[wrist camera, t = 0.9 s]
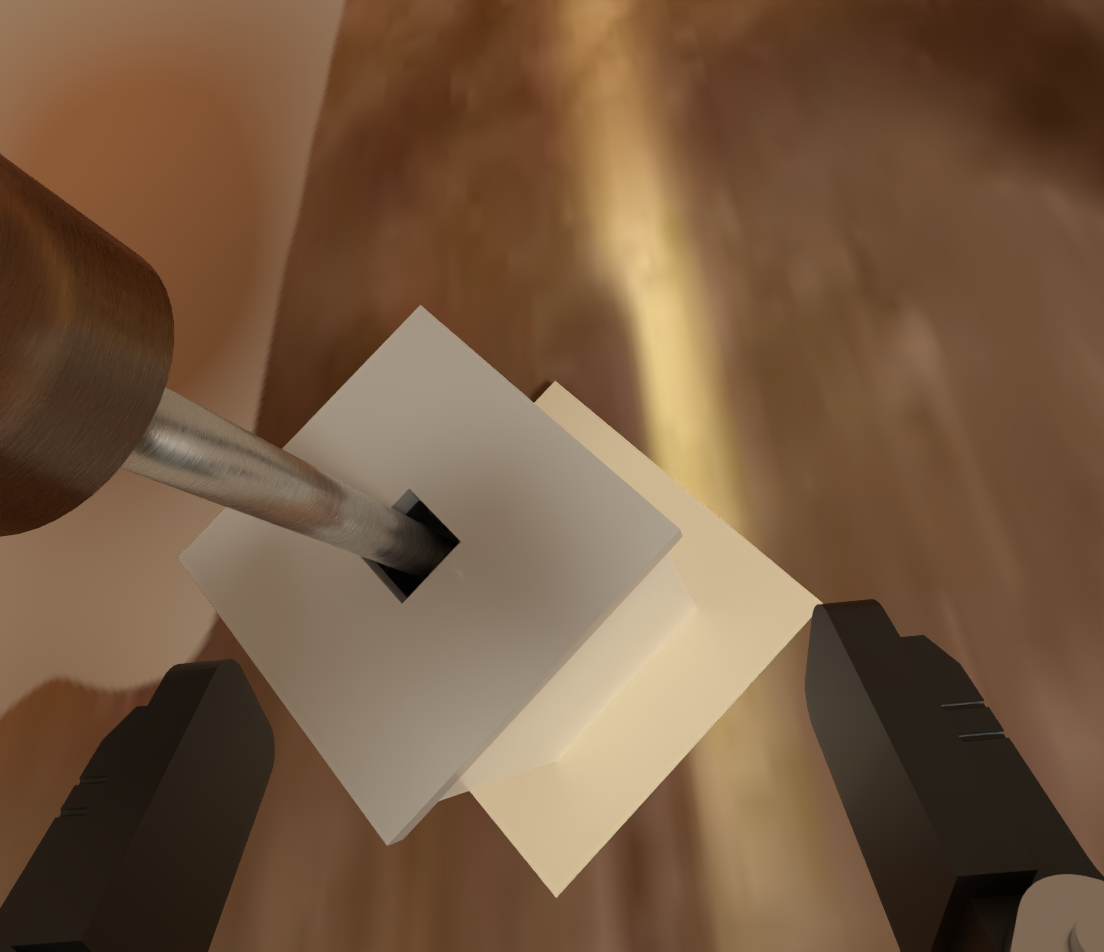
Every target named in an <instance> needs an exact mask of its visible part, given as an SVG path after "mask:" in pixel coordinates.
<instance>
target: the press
mask: <svg viewBox="0 0 1104 952" xmlns="http://www.w3.org/2000/svg"><path fill="white" fill-rule="evenodd" d="M282 450H284V451H286V452H288V453H290V454H292V455H294V456H295V457H297V458H299V459H301V460H303V461H305V462H307V463H309V464H310V465H312V466H314V467H316V468H318V469H320V470H322V471H323V472H325V473H327V474H329V475H331V476H333V477H335V478H337V479H338V480H340V481H342V482H344V483H346V484H348V485H350V486H352V487H353V488H355V489H357V490H359V491H361V492H363V493H365V494H367V495H368V496H370V497H372V498H374V499H376V500H378V501H380V502H381V503H383V504H385V505H387V506H389V507H391V508H393V509H395V510H396V511H398V512H400V513H402V514H404V515H405V514H406V513H407V512H408V511H409V510H410V509H411V508H412V507H413V506H414V505H415V504H416V503H417V501H418V500H419V499H420V500H421V501H422V502H423V503H424V504H425V505H426V506H427V507H428V508H429V509H430V510H431V511H432V512H433V513H434V514H435V516H436V517H437V518H438V519H439V520H440V521H441V522H442V523H443V524H444V525H445V526H446V527H447V528H448V529H449V530H450V531H451V532H452V533H453V534H454V535H455V536H456V537H457V538H458V539H459V540H460V541H461V542H460V543H459V544H458V545H457V546H456V547H455V548H454V549H453V550H452V551H451V553H450V554H449V555H448V556H447V557H446V558H445V559H444V560H443V561H442V562H441V563H440V564H439V565H438V566H437V567H436V568H435V570H434V571H433V572H432V573H431V574H430V575H429V576H428V577H427V578H426V579H425V580H424V581H423V582H422V583H421V584H420V585H419V587H418V588H417V589H416V590H415V591H414V592H413V593H412V594H411V595H410V596H409V597H408V598H407V597H406V596H405V595H404V594H403V592H402V591H401V590H400V589H399V588H398V587H397V586H396V585H395V583H394V582H393V581H392V580H391V579H390V578H389V577H388V576H387V574H386V573H385V572H384V571H383V570H382V569H381V568H380V566H379V565H378V564H377V563H376V562H375V561H373V560H370V559H367V558H365V557H362V556H359V555H357V554H354V553H351V552H348V551H346V550H343V549H340V548H337V547H335V546H332V545H329V544H327V543H324V542H321V541H318V540H316V539H313V538H310V537H307V536H305V535H302V534H299V533H297V532H294V531H291V530H288V529H286V528H283V527H280V526H277V525H275V524H272V523H269V522H267V521H264V520H261V519H258V518H256V517H253V516H250V515H247V514H245V513H242V512H239V511H236V510H234V509H231V508H228V507H226V508H225V509H224V510H223V511H222V512H221V513H220V514H219V515H218V516H217V517H216V518H215V519H214V520H213V521H212V522H211V523H210V524H209V525H208V526H207V528H206V529H204V531H203V532H202V533H201V534H200V535H199V536H198V537H197V538H196V539H195V540H194V541H193V542H192V543H191V544H190V545H189V546H188V547H187V548H186V549H185V550H184V551H183V552H182V554H181V555H179V557H178V559H179V561H180V562H181V563H182V565H183V566H184V568H185V569H186V570H187V572H188V573H189V574H190V576H191V577H192V578H193V580H194V581H195V582H196V584H197V585H198V587H199V588H200V590H201V591H202V592H203V593H204V595H205V596H206V598H207V599H208V601H209V602H210V603H211V604H212V606H213V607H214V609H215V610H216V612H217V613H218V614H219V616H220V617H221V618H222V620H223V621H224V623H225V624H226V625H227V627H228V628H229V629H230V631H231V632H232V633H233V635H234V636H235V638H236V639H237V640H238V642H239V643H240V644H241V646H242V647H243V649H244V650H245V651H246V653H247V654H248V655H249V657H250V658H251V660H252V661H253V662H254V664H255V665H256V666H257V668H258V669H259V671H260V672H261V673H262V675H263V676H264V677H265V679H266V680H267V682H268V683H269V684H270V686H271V687H272V688H273V690H274V691H275V693H276V694H277V695H278V697H279V698H280V699H281V701H282V702H283V704H284V705H285V706H286V708H287V709H288V710H289V712H290V713H291V715H292V716H293V717H294V719H295V720H296V721H297V723H298V724H299V725H300V727H301V728H302V730H303V731H304V732H305V734H306V735H307V736H308V738H309V739H310V741H311V742H312V743H313V745H314V746H315V747H316V749H317V750H318V752H319V753H320V754H321V756H322V757H323V758H324V760H325V761H326V763H327V764H328V765H329V767H330V768H331V769H332V771H333V772H334V774H335V775H336V776H337V778H338V779H339V780H340V782H341V783H342V785H343V786H344V787H345V789H346V790H347V791H348V793H349V794H350V796H351V797H352V798H353V800H354V801H355V802H356V804H357V805H358V807H359V808H360V809H361V811H362V812H363V813H364V815H365V816H366V818H367V819H368V820H369V822H370V823H371V824H372V826H373V827H374V828H375V830H376V831H377V833H378V834H379V835H380V837H381V838H382V839H383V841H384V842H385V844H386V845H387V846H388V845H390V844H393V843H395V842H398V841H400V840H403V839H404V838H405V837H406V836H407V835H408V834H409V832H410V831H411V830H412V829H413V828H414V827H415V826H416V825H417V824H418V823H419V822H420V821H421V819H422V818H423V817H424V816H425V815H426V814H427V813H428V812H429V811H430V810H431V809H432V808H433V806H434V805H435V804H436V803H437V802H438V801H440V800H443V799H446V798H449V797H452V796H455V795H458V794H461V793H464V792H467V791H470V792H471V793H472V794H473V796H474V797H475V798H476V799H477V801H478V802H479V803H480V804H481V806H482V807H483V808H484V809H485V810H486V812H487V813H488V814H489V815H490V817H491V818H492V819H493V820H494V822H495V823H496V824H497V825H498V827H499V828H500V829H501V830H502V831H503V833H504V834H505V835H506V836H507V838H508V839H509V840H510V841H511V843H512V844H513V845H514V846H515V847H516V849H517V850H518V851H519V852H520V854H521V855H522V856H523V857H524V859H525V860H526V861H527V862H528V864H529V865H530V866H531V867H532V868H533V870H534V871H535V872H536V873H537V875H538V876H539V877H540V878H541V880H542V881H543V882H544V883H545V884H546V886H547V887H548V888H549V889H550V891H551V892H552V893H553V894H554V896H555V897H556V898H557V897H558V896H559V894H560V893H561V892H562V891H563V890H564V889H565V888H566V887H567V886H568V885H569V884H570V882H571V881H572V880H573V879H574V878H575V877H576V876H577V875H578V874H579V873H580V871H581V870H582V869H583V868H584V867H585V866H586V865H587V864H588V863H589V862H590V860H591V859H592V858H593V857H594V856H595V855H596V854H597V853H598V852H599V851H600V849H601V848H602V847H603V846H604V845H605V844H606V843H607V842H608V841H609V840H610V838H611V837H612V836H613V835H614V834H615V833H616V832H617V831H618V830H619V829H620V827H621V826H622V825H623V824H624V823H625V822H626V821H627V820H628V819H629V818H630V816H631V815H632V814H633V813H634V812H635V811H636V810H637V809H638V808H639V807H640V805H641V804H642V803H643V802H644V801H645V800H646V799H647V798H648V797H649V796H650V794H651V793H652V792H653V791H654V790H655V789H656V788H657V787H658V786H659V784H660V783H661V782H662V781H663V780H664V779H665V778H666V777H667V776H668V775H669V773H670V772H671V771H672V770H673V769H674V768H675V767H676V766H677V765H678V764H679V762H680V761H681V760H682V759H683V758H684V757H685V756H686V755H687V754H688V753H689V751H690V750H691V749H692V748H693V747H694V746H695V745H696V744H697V743H698V742H699V740H700V739H701V738H702V737H703V736H704V735H705V734H706V733H707V732H708V731H709V729H710V728H711V727H712V726H713V725H714V724H715V723H716V722H717V721H718V720H719V718H720V717H721V716H722V715H723V714H724V713H725V712H726V711H727V710H728V709H729V707H730V706H731V705H732V704H733V703H734V702H735V701H736V700H737V699H738V698H739V696H740V695H741V694H742V693H743V692H744V691H745V690H746V689H747V688H748V687H749V685H750V684H751V683H752V682H753V681H754V680H755V679H756V678H757V677H758V676H759V674H760V673H761V672H762V671H763V670H764V669H765V668H766V667H767V666H768V665H769V663H770V662H771V661H772V660H773V659H774V658H775V657H776V656H777V655H778V653H779V652H780V651H781V650H782V649H783V648H784V647H785V646H786V645H787V644H788V642H789V641H790V640H791V639H792V638H793V637H794V636H795V635H796V634H797V633H798V631H799V630H800V629H801V628H802V627H803V626H804V625H805V624H806V623H807V622H808V620H809V619H810V618H811V617H812V614H813V610H814V607H815V606H816V605H817V604H823V603H822V602H821V601H819V600H818V599H817V598H816V597H815V596H813V595H812V594H811V593H810V592H809V591H807V590H806V589H805V588H804V587H803V586H801V585H800V584H799V583H798V582H797V581H795V580H794V579H793V578H792V577H791V576H789V575H788V574H787V573H786V572H785V571H783V570H782V569H781V568H780V567H779V566H777V565H776V564H775V563H774V562H772V561H771V560H770V559H769V558H768V557H766V556H765V555H764V554H763V553H762V552H760V551H759V550H758V549H757V548H756V547H754V546H753V545H752V544H751V543H750V542H748V541H747V540H746V539H745V538H744V537H742V536H741V535H740V534H739V533H738V532H736V531H735V530H734V529H733V528H732V527H730V526H729V525H728V524H727V523H726V522H724V521H723V520H722V519H721V518H720V517H718V516H717V515H716V514H715V513H714V512H712V511H711V510H710V509H709V508H708V507H706V506H705V505H704V504H703V503H702V502H700V501H699V500H698V499H697V498H696V497H694V496H693V495H692V494H691V493H690V492H688V491H687V490H686V489H685V488H684V487H682V486H681V485H680V484H679V483H677V482H676V481H675V480H674V479H673V478H671V477H670V476H669V475H668V474H667V473H665V472H664V471H663V470H662V469H661V468H659V467H658V466H657V465H656V464H655V463H653V462H652V461H651V460H650V459H649V458H647V457H646V456H645V455H644V454H643V453H641V452H640V451H639V450H638V449H637V448H635V447H634V446H633V445H632V444H631V443H629V442H628V441H627V440H626V439H625V438H623V437H622V436H621V435H620V434H619V433H617V432H616V431H615V430H614V429H613V428H611V427H610V426H609V425H608V424H607V423H605V422H604V421H603V420H602V419H601V418H599V417H598V416H597V415H596V414H595V413H593V412H592V411H591V410H590V409H589V408H587V407H586V406H585V405H584V404H582V403H581V402H580V401H579V400H578V399H576V398H575V397H574V396H573V395H572V394H570V393H569V392H568V391H567V390H566V389H564V388H563V387H562V386H561V385H560V384H558V383H557V382H556V381H555V382H554V383H553V384H552V385H551V386H550V387H549V388H548V389H547V390H546V391H545V392H544V393H543V394H542V395H541V396H540V397H539V398H538V399H537V401H536V402H535V403H533V402H532V401H531V400H530V399H529V398H528V397H526V396H525V395H524V394H523V393H522V392H521V391H519V390H518V389H517V388H516V387H515V386H514V385H513V384H511V383H510V382H509V381H508V380H507V379H506V378H504V377H503V376H502V375H501V374H500V373H499V372H497V371H496V370H495V369H494V368H493V367H492V366H491V365H489V364H488V363H487V362H486V361H485V360H484V359H482V358H481V357H480V356H479V355H478V354H477V353H475V352H474V351H473V350H472V349H471V348H470V347H469V346H467V345H466V344H465V343H464V342H463V341H462V340H460V339H459V338H458V337H457V336H456V335H455V334H453V333H452V332H451V331H450V330H449V329H448V328H446V327H445V326H444V325H443V324H442V323H441V322H440V321H438V320H437V319H436V318H435V317H434V316H433V315H431V314H430V313H429V312H428V311H427V310H426V309H424V308H423V307H422V306H421V305H420V306H419V307H418V308H417V309H416V310H415V311H414V312H413V313H412V314H411V315H410V316H409V317H408V318H407V319H406V321H405V322H404V323H403V324H402V325H401V326H400V327H399V328H398V329H397V330H396V331H395V332H394V333H393V334H392V335H391V336H390V337H389V338H388V339H387V340H386V341H385V342H384V343H383V344H382V345H381V346H380V348H379V349H378V350H377V351H376V352H375V353H374V354H373V355H372V356H371V357H370V358H369V359H368V360H367V361H366V362H365V363H364V364H363V365H362V366H361V367H360V368H359V369H358V370H357V371H356V372H355V374H354V375H353V376H352V377H351V378H350V379H349V380H348V381H347V382H346V383H345V384H344V385H343V386H342V387H341V388H340V389H339V390H338V391H337V392H336V393H335V394H334V395H333V396H332V397H331V398H330V400H329V401H328V402H327V403H326V404H325V405H324V406H323V407H322V408H321V409H320V410H319V411H318V412H317V413H316V414H315V415H314V416H313V417H312V418H311V419H310V420H309V421H308V422H307V423H306V424H305V426H304V427H303V428H302V429H301V430H300V431H299V432H298V433H297V434H296V435H295V436H294V437H293V438H292V439H291V440H290V441H289V442H288V443H287V444H286V445H285V446H284V447H283V448H282Z"/></svg>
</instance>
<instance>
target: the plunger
mask: <svg viewBox="0 0 1104 952" xmlns="http://www.w3.org/2000/svg"><path fill="white" fill-rule="evenodd" d="M173 347H174V320H173V314H172V307H171V304H170V300H169V297H168V294H167V291H166V289H165V287H164V285H163V283H162V281H161V279H160V277H159V276H158V274H157V273H156V272H155V270H154V269H153V268H152V266H151V265H150V264H149V263H147V262H146V261H145V260H144V259H143V258H142V257H141V256H140V255H138V254H137V253H136V252H134V251H133V250H132V249H130V248H129V247H127V246H126V245H125V244H123V243H122V242H121V241H119V240H118V239H116V238H115V237H114V236H112V235H111V234H109V233H108V232H107V231H105V230H104V229H103V228H101V227H100V226H99V225H97V224H96V223H94V222H93V221H92V220H90V219H89V218H88V217H86V216H85V215H83V214H82V213H81V212H79V211H78V210H76V209H75V208H74V207H73V206H71V205H70V204H68V203H67V202H66V201H64V200H63V199H61V198H60V197H59V196H57V195H56V194H54V193H53V192H52V191H50V190H49V189H48V188H46V187H45V186H44V185H42V184H41V183H40V182H38V181H37V180H35V179H34V178H33V177H31V176H30V175H29V174H27V173H25V172H24V171H23V170H22V169H20V168H19V167H18V166H16V165H15V164H14V163H12V162H11V161H9V160H8V159H7V158H5V157H4V156H3V155H1V154H0V536H7V535H14V534H20V533H23V532H26V531H30V530H33V529H36V528H39V527H41V526H43V525H46V524H48V523H50V522H52V521H55V520H56V519H58V518H60V517H62V516H63V515H65V514H67V513H68V512H70V511H72V510H73V509H75V508H76V507H78V506H79V505H80V504H82V503H83V502H84V501H85V500H87V499H88V498H89V497H90V496H92V495H93V494H94V493H95V492H96V491H97V490H99V489H100V488H101V487H102V486H103V485H104V484H105V483H106V482H107V481H108V480H109V479H110V478H111V477H112V476H113V475H114V474H115V472H116V471H117V470H118V469H119V468H122V469H125V470H127V471H130V472H133V473H136V474H138V475H141V476H144V477H147V478H150V479H152V480H155V481H157V482H160V483H163V484H166V485H168V486H171V487H174V488H177V489H179V490H182V491H185V492H187V493H190V494H193V495H196V496H198V497H201V498H204V499H207V500H209V501H212V502H215V503H217V504H220V505H223V506H226V507H228V508H231V509H234V510H236V511H239V512H242V513H245V514H247V515H250V516H253V517H256V518H258V519H261V520H264V521H267V522H269V523H272V524H275V525H277V526H280V527H283V528H286V529H288V530H291V531H294V532H297V533H299V534H302V535H305V536H307V537H310V538H313V539H316V540H318V541H321V542H324V543H327V544H329V545H332V546H335V547H337V548H340V549H343V550H346V551H348V552H351V553H354V554H357V555H359V556H362V557H365V558H367V559H370V560H373V561H375V562H376V563H377V564H378V565H379V566H380V568H381V569H382V570H383V571H384V572H385V573H386V574H387V576H388V577H389V578H390V579H391V580H392V581H393V582H394V583H395V585H396V586H397V587H398V588H399V589H400V590H401V591H402V592H403V594H404V595H405V596H406V597H407V598H408V597H409V596H410V595H411V594H412V593H413V592H414V591H415V590H416V589H417V588H418V587H419V585H420V584H421V583H422V582H423V581H424V580H425V579H426V578H427V577H428V576H429V575H430V574H431V573H432V572H433V571H434V570H435V568H436V567H437V566H438V565H439V564H440V563H441V562H442V561H443V560H444V559H445V558H446V557H447V556H448V555H449V554H450V553H451V551H452V550H453V549H454V548H455V547H456V546H457V545H458V544H459V543H460V542H461V541H460V540H459V539H458V538H457V537H456V536H455V535H454V534H453V533H452V532H451V531H450V530H449V529H448V528H447V527H446V526H445V525H444V524H443V523H442V522H441V521H440V520H439V519H438V518H437V517H436V516H435V514H434V513H433V512H432V511H431V510H430V509H429V508H428V507H427V506H426V505H425V504H424V503H423V502H422V501H421V500H420V499H419V500H418V501H417V503H416V504H415V505H414V506H413V507H412V508H411V509H410V510H409V511H408V512H407V513H406V514H405V515H404V514H402V513H400V512H398V511H396V510H395V509H393V508H391V507H389V506H387V505H385V504H383V503H381V502H380V501H378V500H376V499H374V498H372V497H370V496H368V495H367V494H365V493H363V492H361V491H359V490H357V489H355V488H353V487H352V486H350V485H348V484H346V483H344V482H342V481H340V480H338V479H337V478H335V477H333V476H331V475H329V474H327V473H325V472H323V471H322V470H320V469H318V468H316V467H314V466H312V465H310V464H309V463H307V462H305V461H303V460H301V459H299V458H297V457H295V456H294V455H292V454H290V453H288V452H286V451H284V450H282V449H280V448H279V447H277V446H275V445H273V444H271V443H269V442H267V441H265V440H264V439H262V438H260V437H258V436H256V435H254V434H252V433H251V432H249V431H247V430H245V429H243V428H241V427H239V426H237V425H235V424H233V423H232V422H230V421H228V420H226V419H224V418H222V417H221V416H219V415H217V414H215V413H213V412H211V411H209V410H208V409H206V408H203V407H202V406H200V405H198V404H196V403H194V402H193V401H191V400H189V399H187V398H185V397H183V396H181V395H179V394H178V393H176V392H174V391H172V390H170V389H168V388H166V384H167V380H168V375H169V371H170V367H171V363H172V355H173Z"/></svg>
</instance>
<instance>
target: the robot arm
mask: <svg viewBox="0 0 1104 952" xmlns="http://www.w3.org/2000/svg"><path fill="white" fill-rule="evenodd" d="M805 694H806V702H807V707H808V712H809V716H810V720H811V723H812V726H813V729H814V731H815V734H816V737H817V739H818V742H819V744H820V747H821V749H822V752H823V754H824V757H825V760H826V762H827V765H828V767H829V770H830V772H831V775H832V777H833V780H834V782H835V785H836V788H837V790H838V793H839V795H840V798H841V800H842V803H843V805H844V808H845V810H846V813H847V816H848V818H849V821H850V823H851V826H852V828H853V831H854V833H855V836H856V839H857V841H858V844H859V846H860V849H861V851H862V854H863V856H864V859H865V861H866V864H867V867H868V869H869V872H870V874H871V877H872V879H873V882H874V884H875V887H876V889H877V892H878V895H879V897H880V900H881V902H882V905H883V907H884V910H885V912H886V915H887V918H888V920H889V923H890V925H891V928H892V930H893V933H894V935H895V938H896V940H897V943H898V946H899V948H900V951H901V952H1104V876H1103V875H1102V874H1101V873H1100V872H1099V871H1098V870H1097V869H1096V867H1095V866H1094V865H1093V863H1092V862H1091V861H1090V859H1089V858H1088V857H1087V855H1086V853H1085V852H1084V850H1083V849H1082V847H1081V846H1080V844H1079V843H1078V841H1077V840H1076V838H1075V837H1074V835H1073V834H1072V832H1071V831H1070V829H1069V828H1068V826H1067V825H1066V823H1065V822H1064V820H1063V819H1062V817H1061V816H1060V814H1059V813H1058V811H1057V810H1056V808H1055V807H1054V805H1053V804H1052V802H1051V801H1050V799H1049V798H1048V796H1047V795H1046V793H1045V792H1044V790H1043V788H1042V787H1041V785H1040V784H1039V782H1038V781H1037V779H1036V778H1035V776H1034V775H1033V773H1032V772H1031V770H1030V769H1029V767H1028V766H1027V764H1026V763H1025V761H1024V760H1023V758H1022V757H1021V755H1020V754H1019V752H1018V751H1017V749H1016V748H1015V746H1014V745H1013V743H1012V742H1011V740H1010V739H1009V738H1006V737H1005V735H1004V730H1003V728H1002V727H1001V725H1000V723H999V722H998V720H997V719H996V717H995V716H994V714H993V713H992V711H991V710H990V708H989V707H985V705H984V699H983V698H982V696H981V695H980V693H979V692H978V690H977V689H976V687H975V686H974V684H973V683H972V681H971V680H970V678H969V677H968V675H967V674H966V672H965V671H964V669H963V668H962V666H961V665H960V663H958V662H957V661H956V660H955V659H953V658H952V657H951V656H949V655H948V654H947V653H946V652H944V651H943V650H942V649H941V648H939V647H938V646H937V645H936V644H934V643H933V642H932V641H931V640H929V639H928V638H927V637H926V636H924V635H919V636H908V637H900V636H899V634H898V632H897V631H896V629H895V627H894V626H893V624H892V622H891V620H890V619H889V617H888V615H887V614H886V612H885V610H884V609H883V607H882V606H881V605H880V603H879V602H877V601H876V600H874V599H869V600H858V601H848V602H838V603H827V604H817V605H816V606H815V607H814V610H813V614H812V622H811V631H810V640H809V648H808V657H807V666H806V675H805ZM274 753H275V745H274V737H273V732H272V729H271V726H270V724H269V722H268V720H267V718H266V716H265V714H264V712H263V710H262V708H261V706H260V704H259V702H258V700H257V698H256V696H255V694H254V692H253V690H252V688H251V686H250V684H249V682H248V680H247V678H246V676H245V674H244V672H243V670H242V668H241V667H240V665H239V664H238V663H237V662H236V661H235V660H232V659H226V660H216V661H205V662H195V663H185V664H177V665H175V666H173V667H172V668H170V670H169V671H168V672H167V673H166V675H165V676H164V678H163V680H162V681H161V683H160V685H159V687H158V688H157V690H156V692H155V694H154V695H153V697H152V699H151V701H150V702H149V704H148V706H139V707H136V708H135V709H134V710H133V711H132V712H131V713H130V714H129V715H128V716H127V717H126V718H125V719H123V720H122V721H121V722H120V723H119V724H118V725H117V726H116V727H115V728H114V729H113V730H112V731H111V732H110V733H109V734H108V735H107V736H106V737H105V738H104V739H103V740H102V742H101V743H100V745H99V747H98V748H97V750H96V752H95V753H94V755H93V756H92V758H91V760H90V761H89V763H88V765H87V766H86V768H85V770H84V771H83V773H82V775H81V776H80V784H79V785H75V786H74V788H73V789H72V791H71V793H70V794H69V796H68V798H67V799H66V801H65V803H64V804H63V806H62V808H61V809H60V810H61V815H60V817H58V818H55V819H54V821H53V822H52V824H51V826H50V827H49V829H48V831H47V832H46V834H45V836H44V837H43V839H42V841H41V842H40V844H39V845H38V847H37V849H36V850H35V852H34V854H33V855H32V857H31V859H30V860H29V862H28V864H27V865H26V867H25V869H24V870H23V872H22V873H21V875H20V877H19V878H18V880H17V882H16V883H15V885H14V887H13V888H12V890H11V892H10V893H9V895H8V897H7V898H6V900H5V901H4V903H3V905H2V906H1V908H0V952H208V950H209V947H210V944H211V941H212V939H213V936H214V933H215V930H216V927H217V924H218V922H219V919H220V916H221V913H222V910H223V908H224V905H225V902H226V899H227V896H228V893H229V891H230V888H231V885H232V882H233V879H234V877H235V874H236V871H237V868H238V865H239V862H240V860H241V857H242V854H243V851H244V848H245V846H246V843H247V840H248V837H249V834H250V831H251V829H252V826H253V823H254V820H255V817H256V815H257V812H258V809H259V806H260V803H261V800H262V798H263V795H264V792H265V789H266V786H267V784H268V781H269V778H270V775H271V772H272V768H273V763H274Z"/></svg>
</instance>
